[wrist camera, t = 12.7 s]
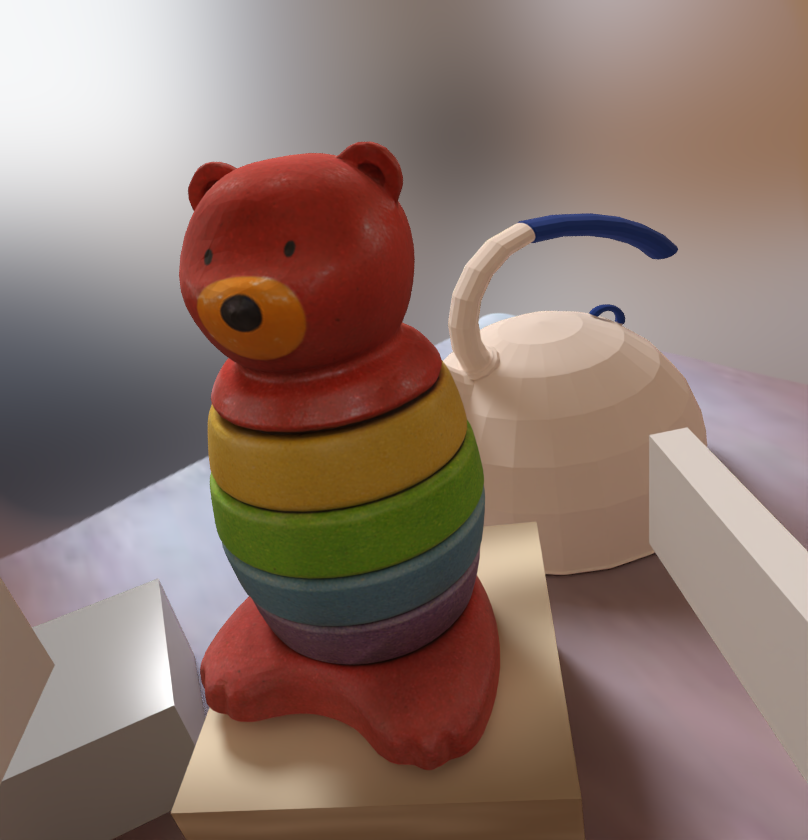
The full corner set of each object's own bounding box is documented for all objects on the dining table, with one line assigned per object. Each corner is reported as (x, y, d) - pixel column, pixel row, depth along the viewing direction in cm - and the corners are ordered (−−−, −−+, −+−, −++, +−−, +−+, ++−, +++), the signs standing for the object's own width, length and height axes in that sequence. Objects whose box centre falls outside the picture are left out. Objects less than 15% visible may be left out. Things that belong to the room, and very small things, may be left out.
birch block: (592, 932, 24) (581, 798, 20) (242, 935, 25) (170, 813, 22) (549, 642, 35) (536, 521, 31) (308, 659, 37) (268, 547, 33)
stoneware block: (218, 790, 31) (174, 705, 28) (10, 891, 28) (-61, 808, 26) (195, 656, 38) (158, 578, 35) (29, 727, 36) (-25, 649, 33)
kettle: (366, 465, 53) (310, 238, 44) (586, 382, 58) (574, 165, 50) (494, 634, 36) (444, 319, 27) (787, 494, 41) (824, 194, 33)
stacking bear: (181, 710, 24) (-19, 199, 16) (312, 540, 32) (222, 146, 24) (470, 789, 20) (393, 162, 12) (535, 572, 28) (516, 113, 20)
